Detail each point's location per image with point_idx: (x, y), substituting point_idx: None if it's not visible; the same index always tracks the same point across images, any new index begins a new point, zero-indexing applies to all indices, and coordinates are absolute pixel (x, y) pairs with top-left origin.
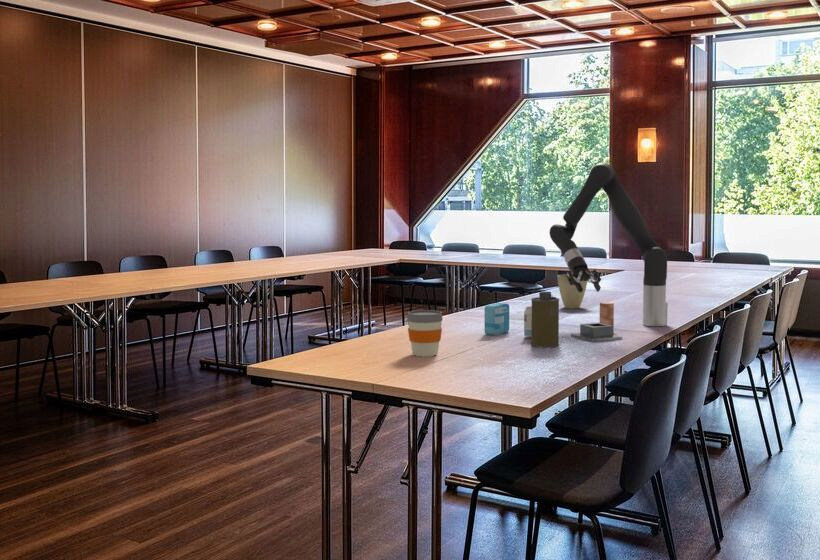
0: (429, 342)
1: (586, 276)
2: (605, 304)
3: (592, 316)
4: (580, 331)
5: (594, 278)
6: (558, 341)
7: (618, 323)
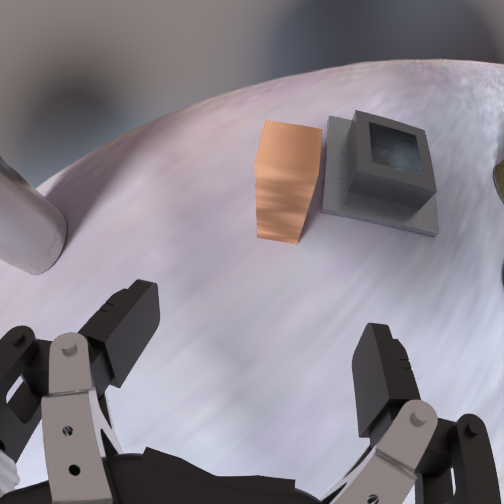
0: None
1: (169, 487)
2: (321, 132)
3: None
4: (424, 203)
5: (65, 381)
6: (498, 166)
7: None
